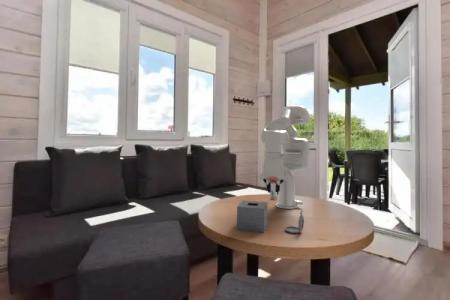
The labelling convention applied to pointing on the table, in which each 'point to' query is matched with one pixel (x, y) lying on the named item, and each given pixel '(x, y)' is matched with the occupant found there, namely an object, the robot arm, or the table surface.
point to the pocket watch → (296, 229)
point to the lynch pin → (273, 188)
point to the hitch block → (252, 216)
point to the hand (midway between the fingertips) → (273, 191)
